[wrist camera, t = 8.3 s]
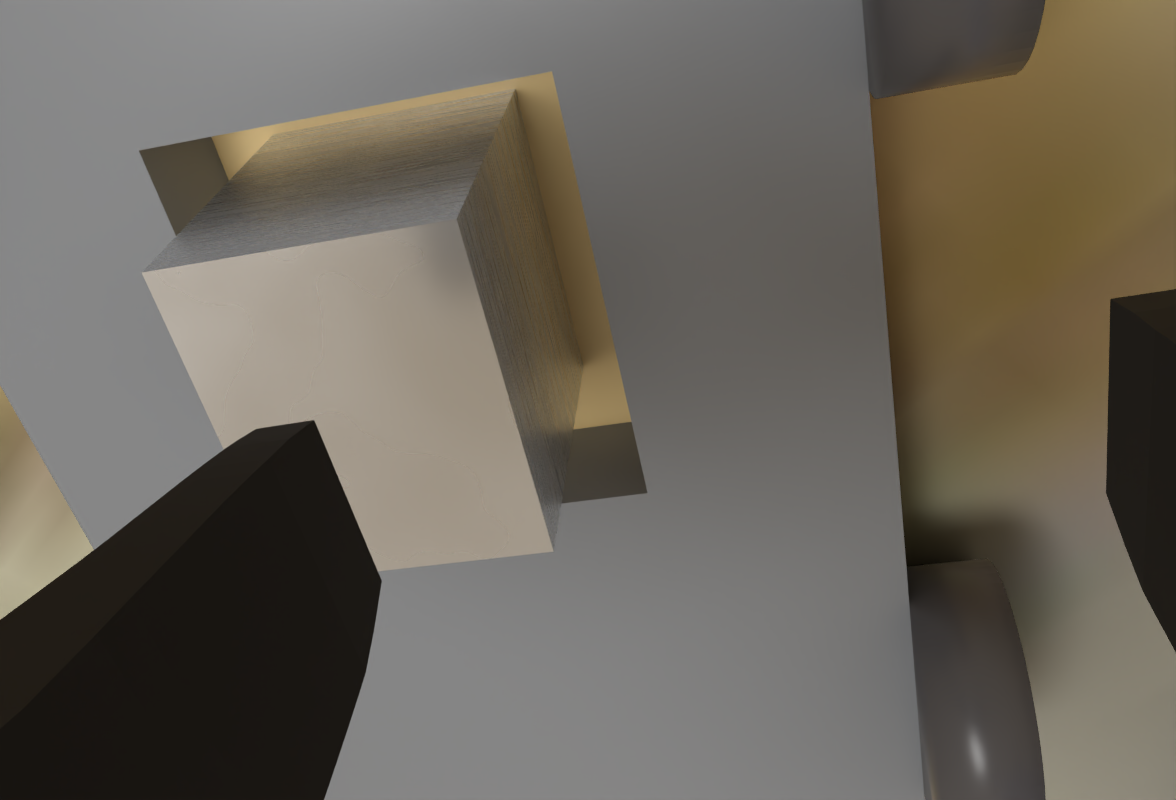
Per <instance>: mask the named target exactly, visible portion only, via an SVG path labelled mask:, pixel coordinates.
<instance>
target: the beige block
mask: <svg viewBox="0 0 1176 800" xmlns="http://www.w3.org/2000/svg"><path fill="white" fill-rule="evenodd" d="M142 275H143V277H144V279H145V281H146V283H147V285H148V288H149V290H150V292H151V294H152V296H153V298H154V301H155V303H156V305H157V307H158V309H159V311H160V313H161V316H162V318H163V320H164V322H165V324H166V326H167V329H168V331H169V333H170V335H171V337H172V339H173V342H174V344H175V346H176V348H177V350H178V352H179V354H180V357H181V359H182V361H183V363H184V365H185V367H186V370H187V372H188V374H189V376H190V378H191V380H192V382H193V385H194V387H195V389H196V391H197V393H198V395H199V398H200V400H201V402H202V404H203V406H204V408H205V410H206V413H207V415H208V417H209V419H210V421H211V423H212V426H213V428H214V430H215V432H216V434H217V436H218V439H219V441H220V443H221V445H222V447H223V449H225V448H227V447H228V446H230V445H231V444H233V443H234V442H236V441H237V440H239V439H240V438H242V437H244V436H245V435H247V434H248V433H250V432H252V431H253V430H255V429H258V428H265V427H271V426H278V425H284V424H291V423H298V422H304V421H311V420H314V421H315V423H316V425H317V428H318V430H319V433H320V435H321V437H322V440H323V442H324V444H325V447H326V449H327V452H328V454H329V456H330V459H331V461H332V464H333V466H334V468H335V471H336V473H337V475H338V478H339V480H340V483H341V485H342V487H343V490H344V492H345V494H346V497H347V499H348V502H349V504H350V506H351V509H352V511H353V513H354V516H355V518H356V521H357V523H358V525H359V528H360V530H361V533H362V535H363V537H364V540H365V542H366V544H367V547H368V549H369V552H370V554H371V556H372V559H373V561H374V563H375V566H376V568H377V571H385V570H394V569H403V568H412V567H421V566H430V565H439V564H448V563H457V562H466V561H474V560H483V559H492V558H501V557H510V556H519V555H528V554H537V553H546V552H554V547H555V540H556V534H557V528H558V522H559V516H560V509H561V503H562V497H563V491H564V485H565V478H566V472H567V466H568V460H569V454H570V447H571V441H572V435H573V429H574V423H575V417H576V410H577V404H578V398H579V392H580V386H581V379H582V373H583V367H584V366H583V362H582V358H581V354H580V350H579V346H578V342H577V338H576V333H575V329H574V325H573V321H572V317H571V313H570V309H569V305H568V301H567V297H566V293H565V289H564V285H563V281H562V277H561V272H560V268H559V264H558V260H557V256H556V252H555V248H554V244H553V240H552V236H551V232H550V228H549V224H548V220H547V216H546V212H545V207H544V203H543V199H542V195H541V191H540V187H539V183H538V179H537V175H536V171H535V167H534V163H533V159H532V155H531V151H530V146H529V142H528V138H527V134H526V130H525V126H524V122H523V118H522V114H521V110H520V106H519V102H518V98H517V94H516V90H515V89H510V90H505V91H499V92H494V93H489V94H484V95H478V96H473V97H468V98H463V99H457V100H452V101H447V102H442V103H436V104H431V105H426V106H421V107H415V108H410V109H405V110H399V111H394V112H389V113H384V114H378V115H373V116H368V117H363V118H357V119H352V120H347V121H342V122H336V123H331V124H326V125H321V126H315V127H310V128H305V129H299V130H294V131H289V132H284V133H278V134H273V135H272V136H271V137H270V138H269V139H268V140H267V141H266V142H265V144H264V145H263V146H262V147H261V148H260V149H259V150H258V151H257V152H256V153H255V154H254V155H253V156H252V157H251V158H250V159H249V160H248V161H247V162H246V163H245V165H244V166H243V167H242V168H241V169H240V170H239V171H238V172H237V173H236V174H235V175H234V176H233V177H232V178H231V179H230V180H229V181H228V182H227V183H226V184H225V186H224V187H223V188H222V189H221V190H220V191H219V192H218V193H217V194H216V195H215V196H214V197H213V198H212V199H211V200H210V201H209V202H208V203H207V204H206V205H205V207H204V208H203V209H202V210H201V211H200V212H199V213H198V214H197V215H196V216H195V217H194V218H193V219H192V220H191V221H190V222H189V223H188V224H187V225H186V226H185V228H184V229H183V230H182V231H181V232H180V233H179V234H178V235H177V236H176V237H175V238H174V239H173V240H172V241H171V242H170V243H169V244H168V245H167V246H166V247H165V249H164V250H163V251H162V252H161V253H160V254H159V255H158V256H157V257H156V258H155V259H154V260H153V261H152V262H151V263H150V264H149V265H148V266H147V267H146V268H145V270H144V271H143V272H142Z"/></svg>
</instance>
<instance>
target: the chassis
mask: <svg viewBox="0 0 1176 800" xmlns="http://www.w3.org/2000/svg"><path fill="white" fill-rule="evenodd" d="M1044 4H1045V0H0V386H1V388H2V389H3V391H4V393H5V395H6V396H7V398H8V400H9V402H10V403H11V405H12V407H13V409H14V410H15V412H16V414H17V416H18V417H19V419H20V421H21V423H22V424H23V426H24V428H25V430H26V431H27V433H28V435H29V437H30V438H31V440H32V442H33V444H34V445H35V447H36V449H37V451H38V452H39V454H40V456H41V458H42V459H43V461H44V463H45V465H46V466H47V468H48V470H49V472H50V473H51V475H52V477H53V479H54V480H55V482H56V484H57V486H58V487H59V489H60V491H61V493H62V494H63V496H64V498H65V500H66V501H67V503H68V505H69V507H70V508H71V510H72V512H73V514H74V515H75V517H76V519H77V521H78V522H79V524H80V526H81V528H82V529H83V531H84V533H85V535H86V537H87V538H88V540H89V542H90V544H91V545H92V547H93V549H94V550H95V549H96V548H97V547H99V546H100V545H101V544H102V543H104V542H105V541H106V540H108V539H109V538H110V537H111V536H113V535H114V534H115V533H116V532H118V531H119V530H120V529H122V528H123V527H124V526H125V525H127V524H128V523H129V522H130V521H132V520H133V519H134V518H136V517H137V516H138V515H139V514H141V513H142V512H143V511H144V510H146V509H147V508H148V507H149V506H151V505H152V504H153V503H155V502H156V501H157V500H158V499H160V498H161V497H162V496H163V495H165V494H166V493H167V492H169V491H170V490H171V489H172V488H174V487H175V486H176V485H177V484H179V483H180V482H181V481H183V480H184V479H185V478H186V477H188V476H189V475H190V474H192V473H193V472H194V471H196V470H197V469H198V468H199V467H201V466H202V465H203V464H205V463H206V462H207V461H209V460H210V459H211V458H213V457H214V456H216V455H217V454H218V453H220V452H221V451H223V450H224V449H223V447H222V445H221V443H220V441H219V439H218V436H217V434H216V432H215V430H214V428H213V426H212V423H211V421H210V419H209V417H208V415H207V413H206V410H205V408H204V406H203V404H202V402H201V400H200V398H199V395H198V393H197V391H196V389H195V387H194V385H193V382H192V380H191V378H190V376H189V374H188V372H187V370H186V367H185V365H184V363H183V361H182V359H181V357H180V354H179V352H178V350H177V348H176V346H175V344H174V342H173V339H172V337H171V335H170V333H169V331H168V329H167V326H166V324H165V322H164V320H163V318H162V316H161V313H160V311H159V309H158V307H157V305H156V303H155V301H154V298H153V296H152V294H151V292H150V290H149V288H148V285H147V283H146V281H145V279H144V277H143V275H142V272H143V271H144V270H145V268H146V267H147V266H148V265H149V264H150V263H151V262H152V261H153V260H154V259H155V258H156V257H157V256H158V255H159V254H160V253H161V252H162V251H163V250H164V249H165V247H166V246H167V245H168V244H169V243H170V242H171V241H172V240H173V239H174V238H175V237H176V236H177V235H178V234H179V233H180V232H181V231H182V230H183V229H184V228H185V226H186V225H187V224H188V223H189V222H190V221H191V220H192V219H193V218H194V217H195V216H196V215H197V214H198V213H199V212H200V211H201V210H202V209H203V208H204V207H205V205H206V204H207V203H208V202H209V201H210V200H211V199H212V198H213V197H214V196H215V195H216V194H217V193H218V192H219V191H220V190H221V189H222V188H223V187H224V186H225V184H226V183H227V182H228V181H229V180H230V179H231V178H232V177H233V176H234V175H235V174H236V173H237V172H238V171H239V170H240V169H241V168H242V167H243V166H244V165H245V163H246V162H247V161H248V160H249V159H250V158H251V157H252V156H253V155H254V154H255V153H256V152H257V151H258V150H259V149H260V148H261V147H262V146H263V145H264V144H265V142H266V141H267V140H268V139H269V138H270V137H271V136H272V135H273V134H278V133H284V132H289V131H294V130H299V129H305V128H310V127H315V126H321V125H326V124H331V123H336V122H342V121H347V120H352V119H357V118H363V117H368V116H373V115H378V114H384V113H389V112H394V111H399V110H405V109H410V108H415V107H421V106H426V105H431V104H436V103H442V102H447V101H452V100H457V99H463V98H468V97H473V96H478V95H484V94H489V93H494V92H499V91H505V90H510V89H515V90H516V94H517V98H518V102H519V106H520V110H521V114H522V118H523V122H524V126H525V130H526V134H527V138H528V142H529V146H530V151H531V155H532V159H533V163H534V167H535V171H536V175H537V179H538V183H539V187H540V191H541V195H542V199H543V203H544V207H545V212H546V216H547V220H548V224H549V228H550V232H551V236H552V240H553V244H554V248H555V252H556V256H557V260H558V264H559V268H560V272H561V277H562V281H563V285H564V289H565V293H566V297H567V301H568V305H569V309H570V313H571V317H572V321H573V325H574V329H575V333H576V338H577V342H578V346H579V350H580V354H581V358H582V362H583V366H584V367H583V373H582V379H581V386H580V392H579V398H578V404H577V410H576V417H575V423H574V429H573V435H572V441H571V447H570V454H569V460H568V466H567V472H566V478H565V485H564V491H563V497H562V503H561V509H560V516H559V522H558V528H557V534H556V540H555V547H554V552H546V553H537V554H528V555H519V556H510V557H501V558H492V559H483V560H474V561H466V562H457V563H448V564H439V565H430V566H421V567H412V568H403V569H394V570H385V571H378V573H379V575H380V578H381V580H382V583H381V589H380V596H379V602H378V609H377V615H376V621H375V628H374V633H373V638H372V644H371V649H370V654H369V659H368V664H367V669H366V673H365V677H364V680H363V683H362V686H361V690H360V693H359V696H358V699H357V702H356V705H355V708H354V711H353V715H352V718H351V721H350V724H349V727H348V730H347V733H346V736H345V739H344V742H343V745H342V748H341V751H340V754H339V757H338V760H337V763H336V766H335V769H334V772H333V775H332V778H331V781H330V784H329V787H328V790H327V793H326V796H325V799H324V800H1045V784H1044V773H1043V763H1042V755H1041V747H1040V740H1039V733H1038V726H1037V720H1036V714H1035V708H1034V702H1033V697H1032V692H1031V687H1030V682H1029V677H1028V672H1027V667H1026V663H1025V658H1024V654H1023V650H1022V646H1021V642H1020V638H1019V634H1018V630H1017V626H1016V623H1015V619H1014V616H1013V612H1012V609H1011V606H1010V603H1009V600H1008V597H1007V594H1006V591H1005V588H1004V586H1003V583H1002V581H1001V579H1000V576H999V574H998V572H997V570H996V568H995V566H994V565H993V564H992V562H991V561H990V560H989V559H976V560H967V561H957V562H947V563H938V564H928V565H918V566H909V567H906V555H905V543H904V530H903V517H902V504H901V492H900V479H899V466H898V453H897V440H896V428H895V415H894V402H893V389H892V377H891V364H890V351H889V338H888V325H887V313H886V300H885V287H884V274H883V261H882V249H881V236H880V223H879V210H878V198H877V185H876V172H875V159H874V146H873V134H872V121H871V108H870V95H869V91H870V93H871V95H872V96H873V97H874V98H875V99H879V98H885V97H890V96H896V95H901V94H907V93H913V92H918V91H924V90H930V89H935V88H941V87H947V86H952V85H958V84H963V83H969V82H975V81H980V80H986V79H992V78H997V77H1003V76H1008V75H1014V74H1017V73H1018V72H1019V71H1021V70H1022V69H1023V68H1024V66H1025V64H1026V63H1027V61H1028V60H1029V58H1030V55H1031V53H1032V51H1033V48H1034V46H1035V42H1036V39H1037V35H1038V32H1039V29H1040V24H1041V19H1042V15H1043V10H1044ZM924 796H925V798H924Z"/></svg>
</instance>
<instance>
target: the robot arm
mask: <svg viewBox="0 0 1176 800" xmlns="http://www.w3.org/2000/svg"><path fill="white" fill-rule="evenodd" d="M1106 494H1107V497H1108V500H1109V502H1110V505H1111V508H1112V511H1113V513H1114V516H1115V519H1116V522H1117V524H1118V527H1119V530H1120V533H1121V536H1122V538H1123V541H1124V544H1125V547H1126V549H1127V552H1128V554H1129V557H1130V559H1131V562H1132V564H1133V567H1134V570H1135V572H1136V575H1137V577H1138V580H1139V582H1140V585H1141V587H1142V590H1143V592H1144V594H1145V596H1146V598H1147V600H1148V602H1149V603H1150V605H1151V607H1152V609H1153V611H1154V613H1155V615H1156V617H1157V618H1158V620H1159V622H1160V624H1161V626H1162V628H1163V630H1164V631H1165V633H1166V635H1167V637H1168V639H1169V641H1170V642H1171V644H1172V646H1173V648H1174V650H1175V652H1176V289H1174V290H1168V291H1161V292H1154V293H1148V294H1141V295H1135V296H1128V297H1121V298H1115V299H1111V302H1110V347H1109V391H1108V435H1107V480H1106ZM381 583H382V580H381V578H380V575H379V573H378V571H377V568H376V566H375V563H374V561H373V559H372V556H371V554H370V552H369V549H368V547H367V544H366V542H365V540H364V537H363V535H362V533H361V530H360V528H359V525H358V523H357V521H356V518H355V516H354V513H353V511H352V509H351V506H350V504H349V502H348V499H347V497H346V494H345V492H344V490H343V487H342V485H341V483H340V480H339V478H338V475H337V473H336V471H335V468H334V466H333V464H332V461H331V459H330V456H329V454H328V452H327V449H326V447H325V444H324V442H323V440H322V437H321V435H320V433H319V430H318V428H317V425H316V423H315V421H314V420H311V421H304V422H298V423H291V424H284V425H278V426H271V427H265V428H258V429H255V430H253V431H252V432H250V433H248V434H247V435H245V436H244V437H242V438H240V439H239V440H237V441H236V442H234V443H233V444H231V445H230V446H228V447H227V448H225V449H224V450H223V451H221V452H220V453H218V454H217V455H216V456H214V457H213V458H211V459H210V460H209V461H207V462H206V463H205V464H203V465H202V466H201V467H199V468H198V469H197V470H196V471H194V472H193V473H192V474H190V475H189V476H188V477H186V478H185V479H184V480H183V481H181V482H180V483H179V484H177V485H176V486H175V487H174V488H172V489H171V490H170V491H169V492H167V493H166V494H165V495H163V496H162V497H161V498H160V499H158V500H157V501H156V502H155V503H153V504H152V505H151V506H149V507H148V508H147V509H146V510H144V511H143V512H142V513H141V514H139V515H138V516H137V517H136V518H134V519H133V520H132V521H130V522H129V523H128V524H127V525H125V526H124V527H123V528H122V529H120V530H119V531H118V532H116V533H115V534H114V535H113V536H111V537H110V538H109V539H108V540H106V541H105V542H104V543H102V544H101V545H100V546H99V547H97V548H96V549H95V550H94V551H92V552H91V553H90V554H88V555H87V556H86V557H85V558H83V559H82V560H81V561H79V562H78V563H77V564H75V565H74V566H73V567H71V568H70V569H69V570H67V571H66V572H64V573H63V574H62V575H60V576H59V577H58V578H56V579H55V580H54V581H52V582H51V583H50V584H48V585H47V586H46V587H44V588H43V589H41V590H40V591H39V592H37V593H36V594H35V595H33V596H32V597H31V598H29V599H28V600H27V601H25V602H24V603H23V604H21V605H20V606H18V607H17V608H16V609H14V610H13V611H12V612H10V613H9V614H8V615H6V616H5V617H4V618H2V619H1V620H0V800H324V799H325V796H326V793H327V790H328V787H329V784H330V781H331V778H332V775H333V772H334V769H335V766H336V763H337V760H338V757H339V754H340V751H341V748H342V745H343V742H344V739H345V736H346V733H347V730H348V727H349V724H350V721H351V718H352V715H353V711H354V708H355V705H356V702H357V699H358V696H359V693H360V690H361V686H362V683H363V680H364V677H365V673H366V669H367V664H368V659H369V654H370V649H371V644H372V638H373V633H374V628H375V621H376V615H377V609H378V602H379V596H380V589H381Z"/></svg>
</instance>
